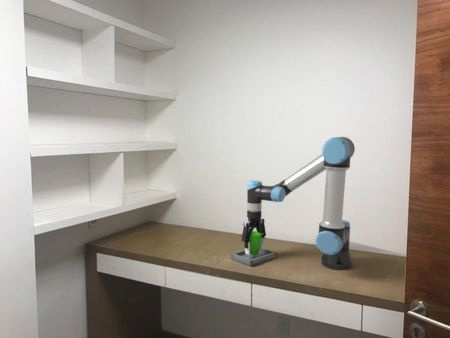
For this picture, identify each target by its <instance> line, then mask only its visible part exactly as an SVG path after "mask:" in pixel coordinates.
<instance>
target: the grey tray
mask: <svg viewBox="0 0 450 338" xmlns="http://www.w3.org/2000/svg"><path fill="white" fill-rule="evenodd" d="M230 254H231V256H230V258H231V260H232V261H235V262H238V263H240V264H243V265H245V266H248V267H251V268H252V267H255V266H257V265H260V264H263V263H265V262H268V261H271V260H274V259H277V252H276V251H275V250H274V251H273V250H271V249H268V248H265V247H262V251H261V250H259V253H258V255H248V254H245V249H242V250H239V251H236V252H233V253H230Z"/></svg>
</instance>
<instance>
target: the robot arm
mask: <svg viewBox="0 0 450 338" xmlns="http://www.w3.org/2000/svg"><path fill="white" fill-rule="evenodd" d="M355 150H356V148H355V144H354V142H353V141H352V139H350V138H348V137H346V136H335V137H331V138H329V139H328V140H326V141H325V143H323V145H322V147H321V154H320V155H319V156H317V157H316V158H314V159H312V160H311V161H310V162H308V163H306V164H305V165H304V166H302V167H300V168H299V169H298V170H296V171H295V172H293V173H292V174H290V175H289V176H288V177H286V178H285V179H283V180H282V181H280V182H279V183H278V184H273V185H263V183H262V181H261V180H250V181H248V182H247V187H246V190H247V194H246V195H247V197H246V198H247V200H246V201H247V203H246V206H247V207H246V209H247V211H246V217H247V221H246V222H245V221H243V228H242V229H243V230H242V234H241V242H243V243H244V250H245V254H248V255H250V242H249V239H250V237H251V234H252V231H257V232H258V233H262V237H261V243H260V249H259V250H261V251H262V248H263V245H264V244H263V243H264V239H265V238H266V236H267V232H266V226H265V225H266V224H265V219H264V218H262V207H263V206H262V204H263V203H262V201H267V202H268V201H269V202H273V203H282V202H283V201H284V200H285V197H286V196H288V195H289V194H291V193H292V192H294V191H295V190H298V188H300V187H301V186H302V185H305V184H306V183H308V182H309V181H310V180H312V179H314V178H315V177H317V176H319V175H320V174H321V173H323V172H324V171H326V172H325V183H324V184H325V185H324V197H323V200H324V201H323V212H322V213H323V214H322V220H321V221H320V222H319V224H318V233H317V235H316V236H315V246H316V248H317V249H318V250H319V251H320V252H321V253H322V255H321V260H320V263H321V265H322V266H324V267H325V268H327V269H331V270H338V271H339V270H340V271H344V270H350V269H352V268H353V259H352V256H351V253H350V241H351V240H350V236H351V235H350V234H351V223H350V221H348V220H344V219H343V214H344V213H343V212H344V198H345V186H346V173H347V171H348V170H350V168H351V167H350V166H351V159H352V157H353V155H354V153H355ZM254 229H255V230H254Z"/></svg>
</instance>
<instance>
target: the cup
mask: <svg viewBox="0 0 450 338" xmlns="http://www.w3.org/2000/svg"><path fill="white" fill-rule="evenodd" d="M261 237H262V233H258V232H257V230H253V231H252V234H251V237H250V239H249V242H250V255H258V253H259V249H260V243H261Z"/></svg>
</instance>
